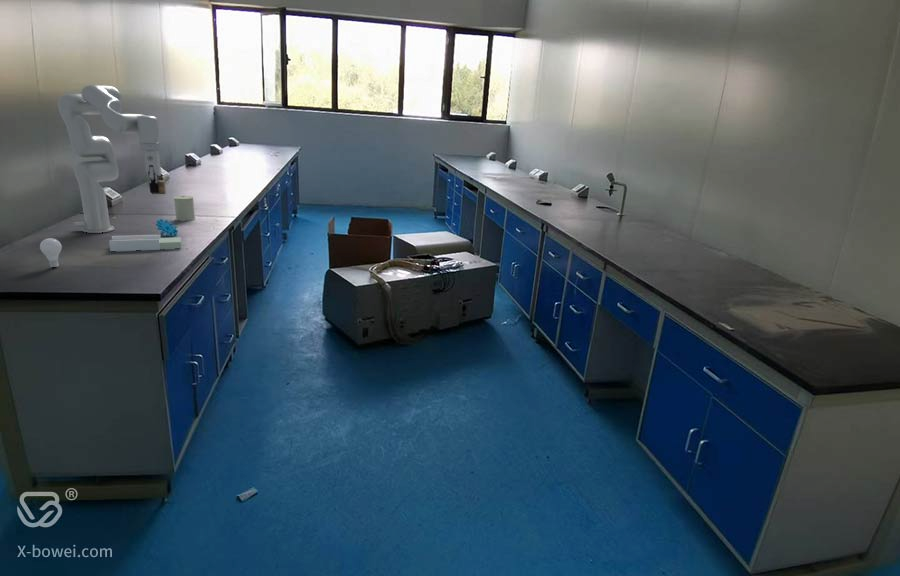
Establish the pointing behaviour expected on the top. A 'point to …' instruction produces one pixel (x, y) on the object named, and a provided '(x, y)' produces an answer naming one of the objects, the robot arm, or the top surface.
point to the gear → (167, 227)
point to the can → (184, 208)
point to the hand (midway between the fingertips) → (155, 191)
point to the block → (161, 187)
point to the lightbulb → (51, 250)
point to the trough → (143, 243)
